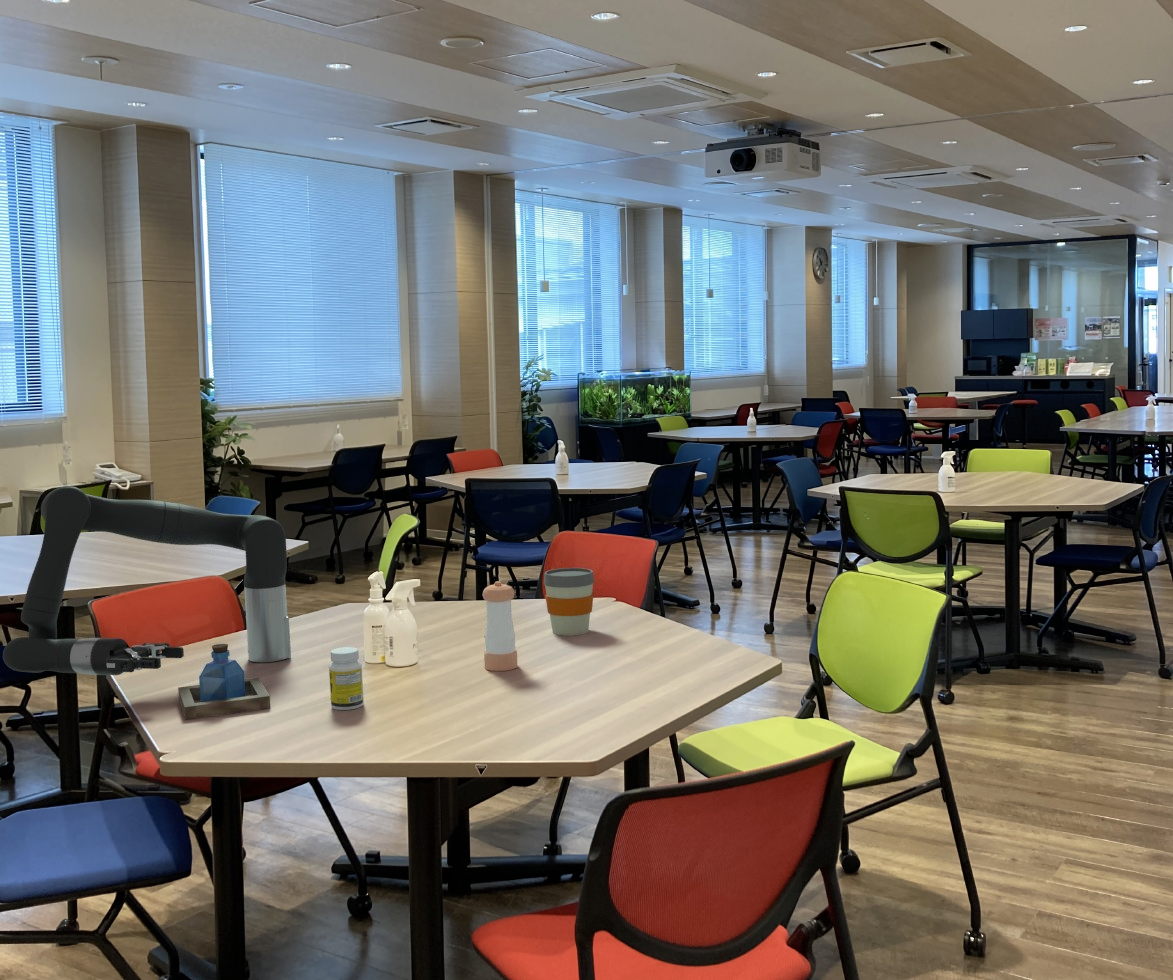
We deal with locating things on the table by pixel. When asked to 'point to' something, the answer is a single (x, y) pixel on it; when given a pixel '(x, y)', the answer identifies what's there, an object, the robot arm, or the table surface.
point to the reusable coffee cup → (569, 599)
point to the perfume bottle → (221, 677)
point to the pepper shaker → (499, 628)
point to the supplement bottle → (346, 679)
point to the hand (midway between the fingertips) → (171, 657)
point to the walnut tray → (223, 701)
